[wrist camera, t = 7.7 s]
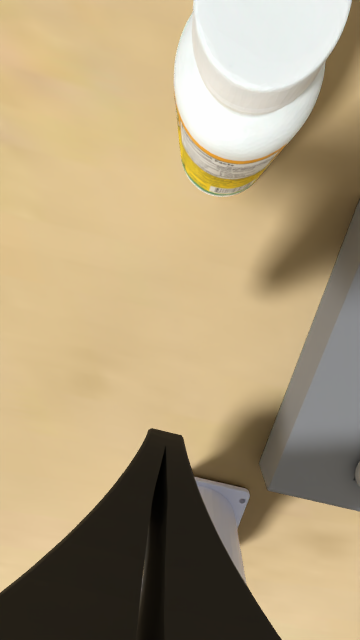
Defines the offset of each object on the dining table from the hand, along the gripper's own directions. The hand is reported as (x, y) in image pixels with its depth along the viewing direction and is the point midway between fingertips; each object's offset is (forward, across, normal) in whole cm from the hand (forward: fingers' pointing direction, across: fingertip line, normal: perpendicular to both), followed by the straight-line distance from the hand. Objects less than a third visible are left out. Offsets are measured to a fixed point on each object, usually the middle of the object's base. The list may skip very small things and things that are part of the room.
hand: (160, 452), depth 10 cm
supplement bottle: (+10, 0, -14) cm, 17 cm away
